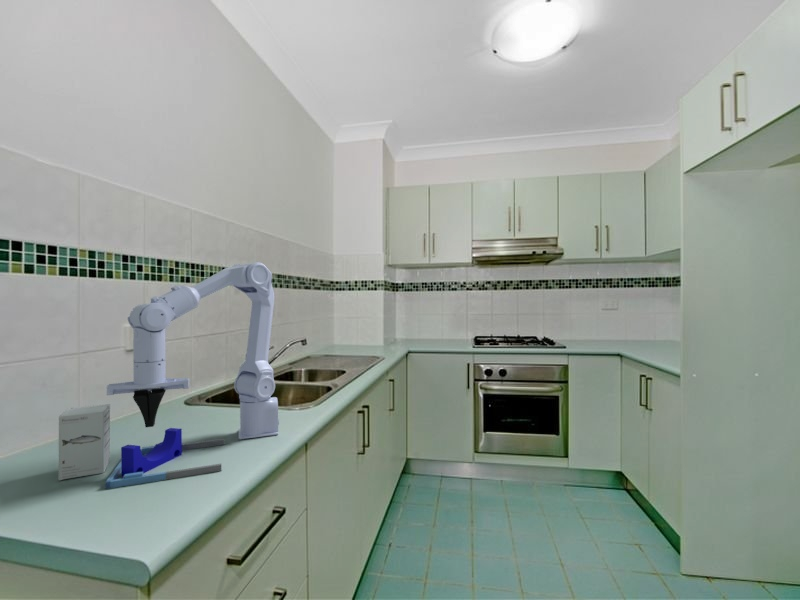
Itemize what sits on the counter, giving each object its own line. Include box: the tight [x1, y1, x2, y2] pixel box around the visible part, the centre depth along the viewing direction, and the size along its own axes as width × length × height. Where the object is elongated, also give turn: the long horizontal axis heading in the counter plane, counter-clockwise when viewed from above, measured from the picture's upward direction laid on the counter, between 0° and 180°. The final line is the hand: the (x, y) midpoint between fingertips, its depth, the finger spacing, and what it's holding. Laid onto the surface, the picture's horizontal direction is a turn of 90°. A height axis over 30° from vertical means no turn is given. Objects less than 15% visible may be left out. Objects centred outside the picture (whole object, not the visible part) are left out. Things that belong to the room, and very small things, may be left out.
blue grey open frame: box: [104, 438, 225, 490], centre depth 84 cm, size 20×17×2 cm
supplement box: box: [58, 403, 111, 481], centre depth 81 cm, size 7×7×13 cm
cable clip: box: [120, 427, 183, 478], centre depth 84 cm, size 12×4×6 cm, turn 165°
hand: (150, 425), depth 83 cm, fingers closed
